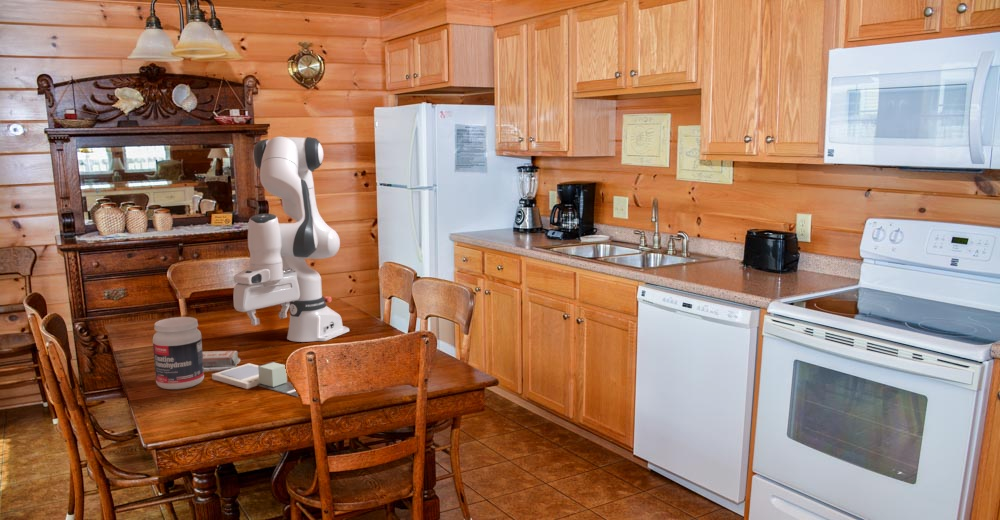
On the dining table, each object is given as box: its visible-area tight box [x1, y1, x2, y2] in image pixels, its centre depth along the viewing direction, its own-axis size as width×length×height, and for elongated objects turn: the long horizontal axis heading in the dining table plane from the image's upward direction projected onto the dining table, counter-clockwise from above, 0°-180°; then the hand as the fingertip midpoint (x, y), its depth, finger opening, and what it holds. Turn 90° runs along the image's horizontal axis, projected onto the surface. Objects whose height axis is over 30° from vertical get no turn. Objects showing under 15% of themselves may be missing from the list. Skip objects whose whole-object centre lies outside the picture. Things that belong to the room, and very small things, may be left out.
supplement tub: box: [152, 316, 205, 390], centre depth 217 cm, size 13×13×18 cm
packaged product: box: [202, 350, 241, 372], centre depth 235 cm, size 18×5×10 cm
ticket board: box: [211, 362, 299, 398], centre depth 218 cm, size 13×33×2 cm, turn 55°
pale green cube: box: [258, 361, 288, 387], centre depth 216 cm, size 5×6×5 cm
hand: (269, 321), depth 214 cm, fingers open, 8 cm apart
